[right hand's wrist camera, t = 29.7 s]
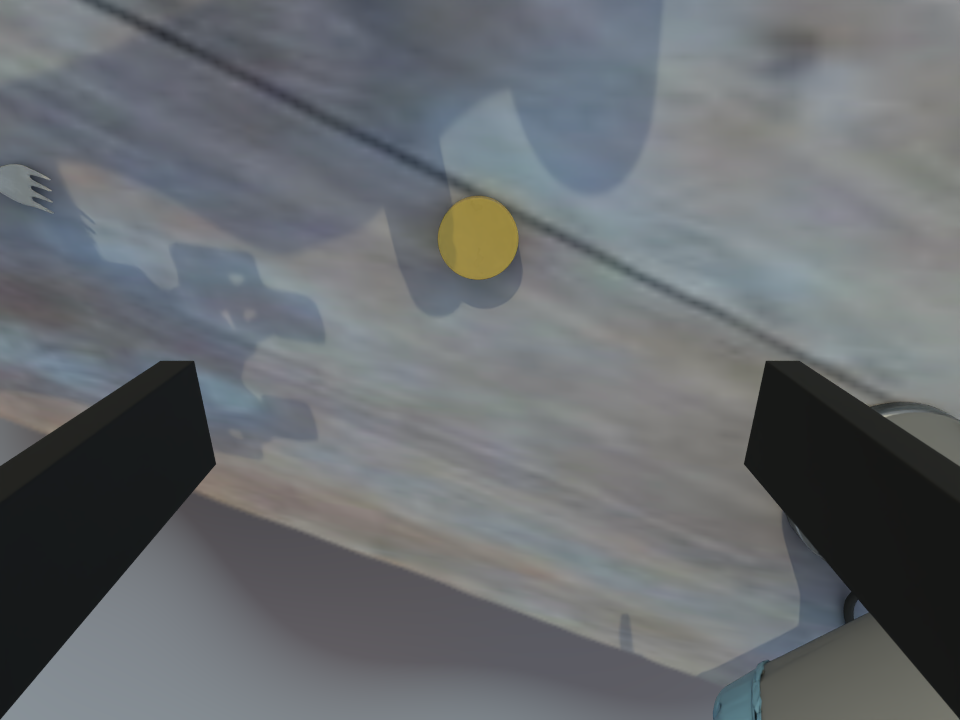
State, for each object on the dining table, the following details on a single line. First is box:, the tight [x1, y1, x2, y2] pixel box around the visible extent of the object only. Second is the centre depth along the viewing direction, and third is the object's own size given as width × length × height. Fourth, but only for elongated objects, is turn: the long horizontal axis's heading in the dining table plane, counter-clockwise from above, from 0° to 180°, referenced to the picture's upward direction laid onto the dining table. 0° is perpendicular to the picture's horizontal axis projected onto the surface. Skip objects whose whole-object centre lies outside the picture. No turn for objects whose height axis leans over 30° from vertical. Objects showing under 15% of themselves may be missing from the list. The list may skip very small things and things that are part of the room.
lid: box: [438, 196, 518, 280], centre depth 36 cm, size 5×5×2 cm
